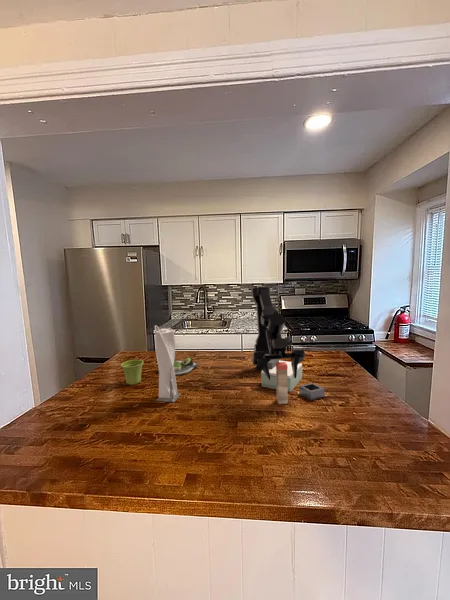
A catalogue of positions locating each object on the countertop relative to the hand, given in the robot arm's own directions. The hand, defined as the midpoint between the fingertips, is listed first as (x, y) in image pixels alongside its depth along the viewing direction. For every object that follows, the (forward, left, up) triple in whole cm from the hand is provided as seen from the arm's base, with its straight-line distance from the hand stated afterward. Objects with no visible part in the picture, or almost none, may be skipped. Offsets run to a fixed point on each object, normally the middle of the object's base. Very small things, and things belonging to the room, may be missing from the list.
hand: (282, 378), depth 100 cm
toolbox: (-7, +18, -9) cm, 21 cm away
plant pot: (-65, -11, -9) cm, 66 cm away
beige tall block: (-1, +1, -9) cm, 9 cm away
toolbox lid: (-7, +18, -4) cm, 20 cm away
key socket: (+7, +11, -9) cm, 16 cm away
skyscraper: (-41, -15, -9) cm, 44 cm away
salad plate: (-58, +11, -10) cm, 60 cm away
